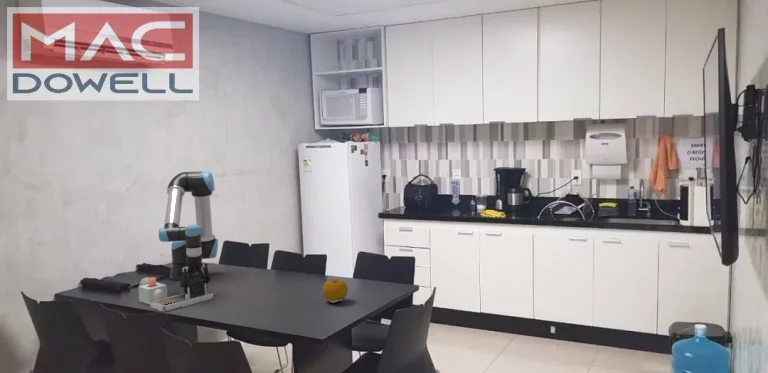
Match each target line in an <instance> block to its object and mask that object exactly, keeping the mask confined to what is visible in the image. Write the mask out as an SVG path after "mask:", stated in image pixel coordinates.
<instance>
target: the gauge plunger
mask: <svg viewBox="0 0 768 373" xmlns="http://www.w3.org/2000/svg"><path fill="white" fill-rule="evenodd" d="M148 282H149V287H155V286H156V282H157V277H155V276H154V277H153V276H152V277H149V278H148Z"/></svg>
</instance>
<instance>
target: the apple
mask: <svg viewBox="0 0 768 373" xmlns="http://www.w3.org/2000/svg"><path fill="white" fill-rule="evenodd" d="M348 290H349V287H348V284H347V282H345V281H344V280H343V279H337V278H335V279H329V280H327V281H325V282H324V284H323V287H322V294H323V297H324V299H325V301H326V300H330V301H335V300H341V299H343V298H344V299H345V298H346V296H347V295H348ZM344 299H343V300H344Z"/></svg>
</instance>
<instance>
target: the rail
mask: <svg viewBox="0 0 768 373" xmlns="http://www.w3.org/2000/svg"><path fill="white" fill-rule="evenodd" d="M209 299H210V300H213V299H214V292H209V293H207V294H205V295H201V296H198V297H194V298H190V299H187V300H186V296H185V294H184V292H183V293H179V294H177V295H176V294H175V295H170V296H167V298H163V299H160V300H156V301H152V302H150V305H149V306H150V307H151V308H150V307H149V308H150V309H153V308H154V309H153V310H155V309H157V310H156V311H158V310H159V312H161V311H163V312H162V313H165V312H164V311H167V310H171V309H175V308H178V309H180V308H179V307H182V308H185V307H188V305H189V306H193V305H196V304H199V302H200V303H202V301H203V302H207V301H210V300H209ZM206 300H207V301H206ZM176 301H177V302H176ZM172 302H173V303H172ZM174 302H175V303H174ZM168 303H169V304H168ZM170 303H172V304H170ZM195 303H196V304H195ZM164 304H168V305H164ZM192 304H193V305H192ZM184 306H185V307H184ZM175 310H176V309H175ZM171 311H172V310H171Z"/></svg>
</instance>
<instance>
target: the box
mask: <svg viewBox="0 0 768 373" xmlns="http://www.w3.org/2000/svg"><path fill="white" fill-rule="evenodd" d="M188 287H189V292H190V298H194V297H198V296H201V295H205V294H204V280H203V278H201V277H197V278H196V277H195V278H192V279H191V280H190V282H189V285H188Z"/></svg>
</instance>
